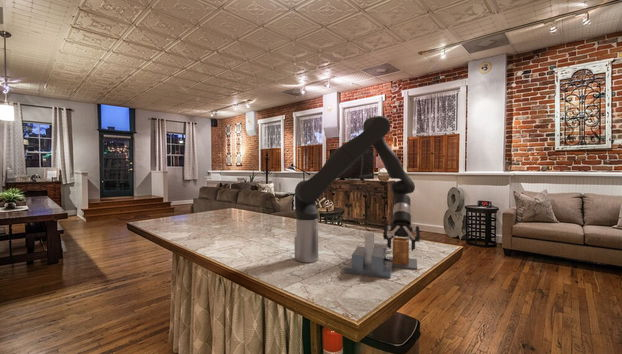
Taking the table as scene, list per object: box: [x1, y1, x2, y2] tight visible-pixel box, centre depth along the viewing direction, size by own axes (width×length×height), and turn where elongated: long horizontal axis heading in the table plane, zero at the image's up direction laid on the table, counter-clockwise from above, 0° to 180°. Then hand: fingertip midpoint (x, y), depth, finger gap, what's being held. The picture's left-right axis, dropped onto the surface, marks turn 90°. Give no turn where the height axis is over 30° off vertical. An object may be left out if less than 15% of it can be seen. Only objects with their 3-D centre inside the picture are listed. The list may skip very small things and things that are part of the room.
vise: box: [344, 231, 394, 279], centre depth 109 cm, size 16×12×14 cm
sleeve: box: [392, 237, 410, 265], centre depth 116 cm, size 6×6×9 cm
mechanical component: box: [374, 240, 393, 255], centre depth 134 cm, size 10×4×10 cm
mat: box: [386, 255, 418, 271], centre depth 116 cm, size 12×12×1 cm
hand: (401, 248), depth 115 cm, fingers open, 8 cm apart
